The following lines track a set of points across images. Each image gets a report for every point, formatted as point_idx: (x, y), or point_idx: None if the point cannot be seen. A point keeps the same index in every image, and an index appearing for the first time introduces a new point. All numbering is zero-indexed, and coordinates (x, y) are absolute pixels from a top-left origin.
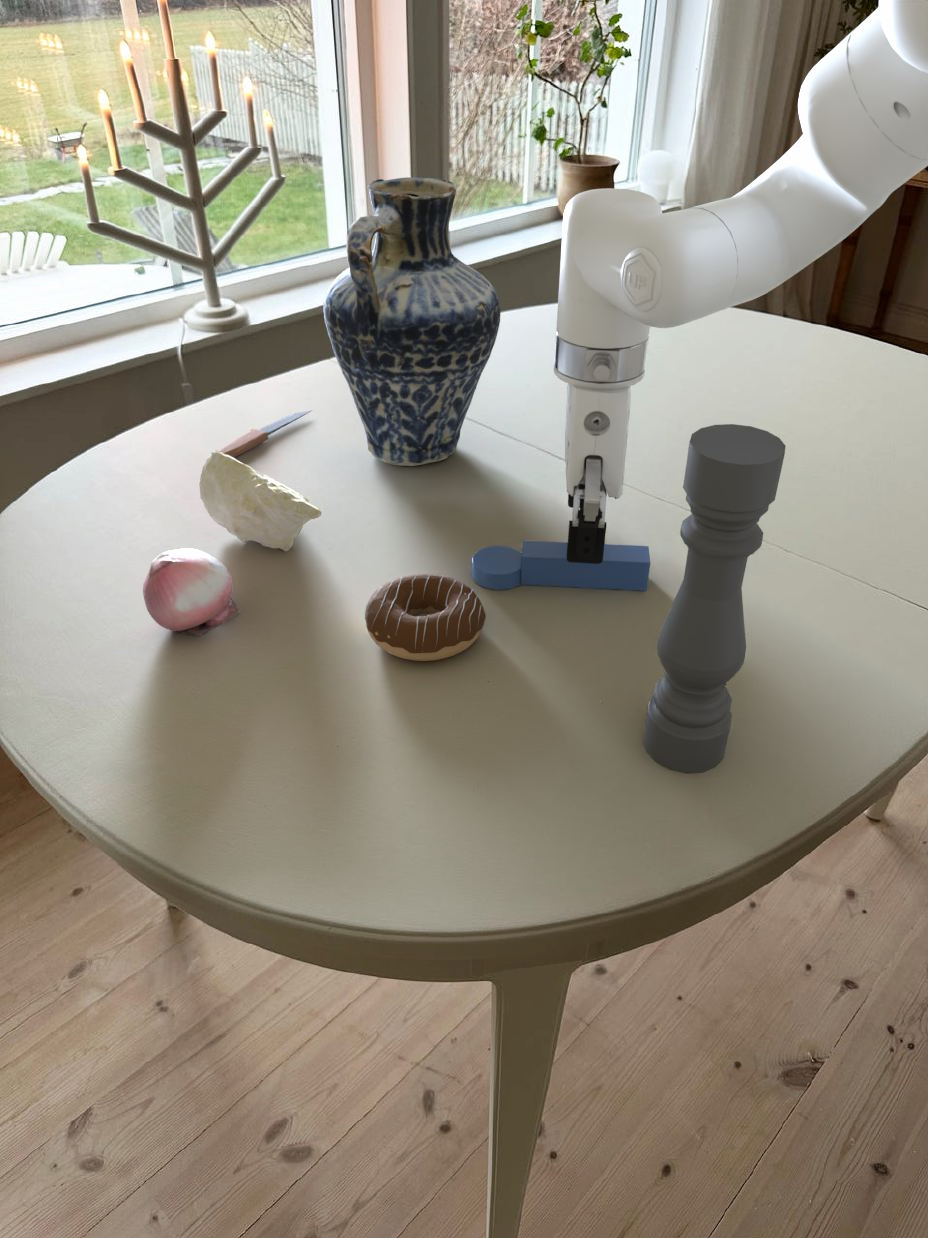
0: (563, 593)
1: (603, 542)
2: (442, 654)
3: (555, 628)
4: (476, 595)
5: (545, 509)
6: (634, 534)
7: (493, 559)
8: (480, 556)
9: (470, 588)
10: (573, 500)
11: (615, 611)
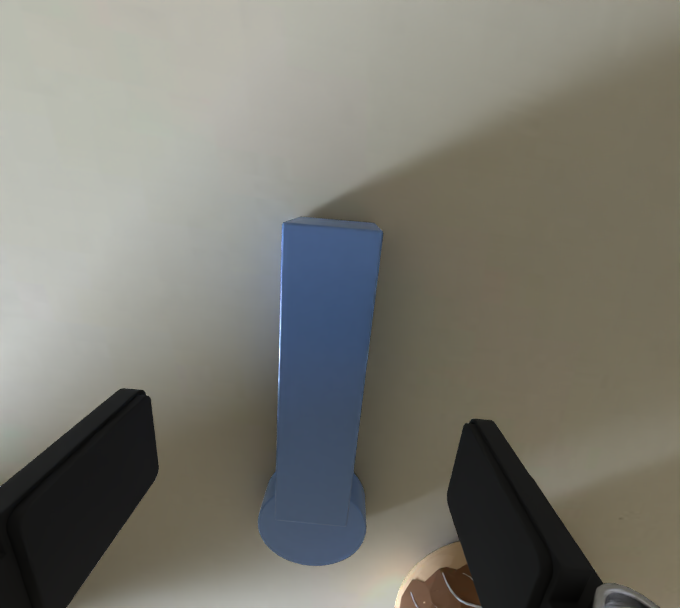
0: (377, 397)
1: (531, 483)
2: None
3: (494, 419)
4: (465, 583)
5: (48, 405)
6: (111, 216)
7: (311, 536)
8: (302, 555)
9: (460, 604)
10: (143, 486)
11: (451, 305)
